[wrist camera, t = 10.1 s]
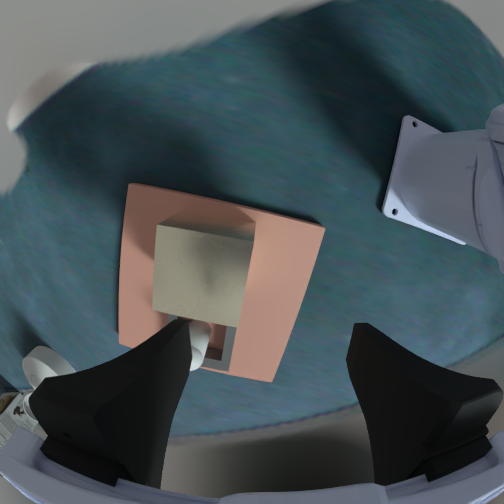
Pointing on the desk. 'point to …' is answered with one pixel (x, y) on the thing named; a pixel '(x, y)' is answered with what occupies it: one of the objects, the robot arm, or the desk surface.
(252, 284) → the keeper board
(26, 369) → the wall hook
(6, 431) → the coffee box
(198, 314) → the beige block with handle
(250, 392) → the desk surface
